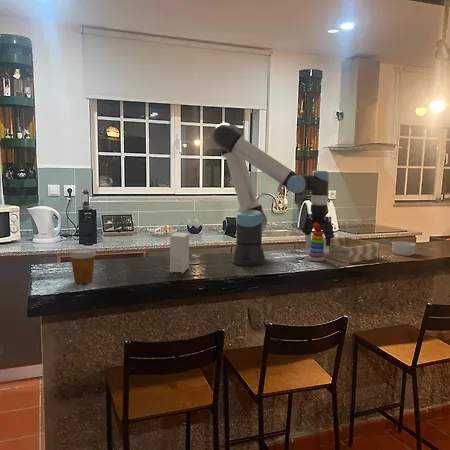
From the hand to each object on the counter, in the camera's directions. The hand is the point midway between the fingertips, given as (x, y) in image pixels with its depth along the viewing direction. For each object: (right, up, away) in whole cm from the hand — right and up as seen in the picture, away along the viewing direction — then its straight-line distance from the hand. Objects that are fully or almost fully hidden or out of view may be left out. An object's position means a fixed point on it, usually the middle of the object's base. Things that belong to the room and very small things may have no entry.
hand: (317, 250), depth 206 cm
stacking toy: (0, -5, +1) cm, 5 cm away
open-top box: (+16, -3, +10) cm, 20 cm away
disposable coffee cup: (-97, -10, -41) cm, 105 cm away
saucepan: (+45, -2, +21) cm, 50 cm away
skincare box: (-62, -7, -22) cm, 67 cm away
